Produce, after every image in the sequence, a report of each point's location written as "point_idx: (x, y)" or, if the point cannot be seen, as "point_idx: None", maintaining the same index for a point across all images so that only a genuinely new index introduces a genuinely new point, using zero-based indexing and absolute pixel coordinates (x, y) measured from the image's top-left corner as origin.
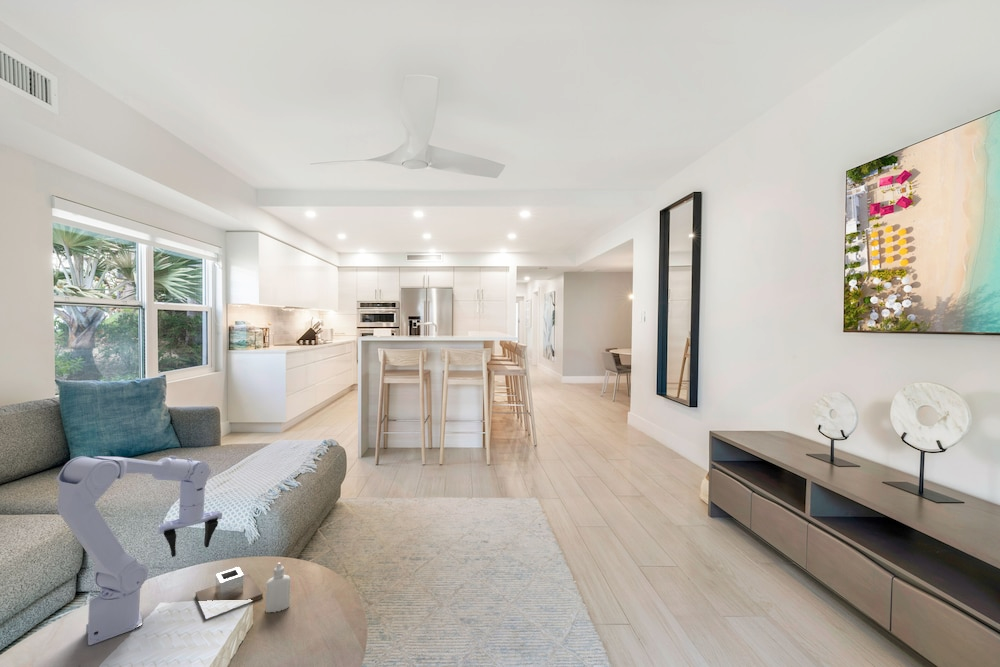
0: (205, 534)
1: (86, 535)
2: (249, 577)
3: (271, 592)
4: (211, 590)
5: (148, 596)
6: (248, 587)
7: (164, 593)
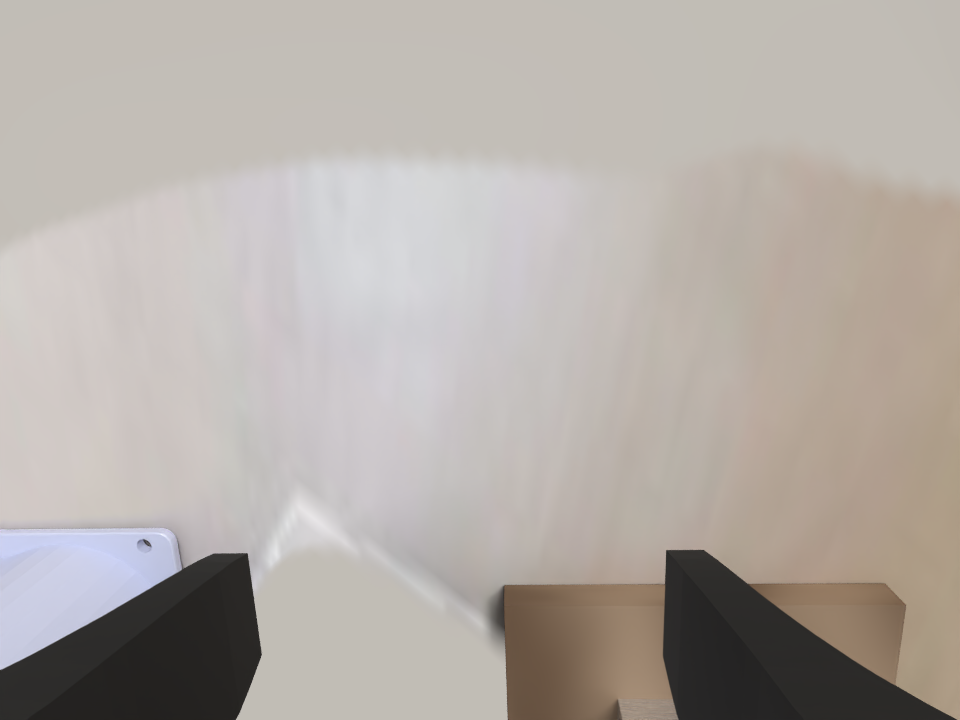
0: (745, 695)
1: None
2: (885, 661)
3: None
4: (602, 657)
5: (220, 346)
6: None
7: (322, 381)
